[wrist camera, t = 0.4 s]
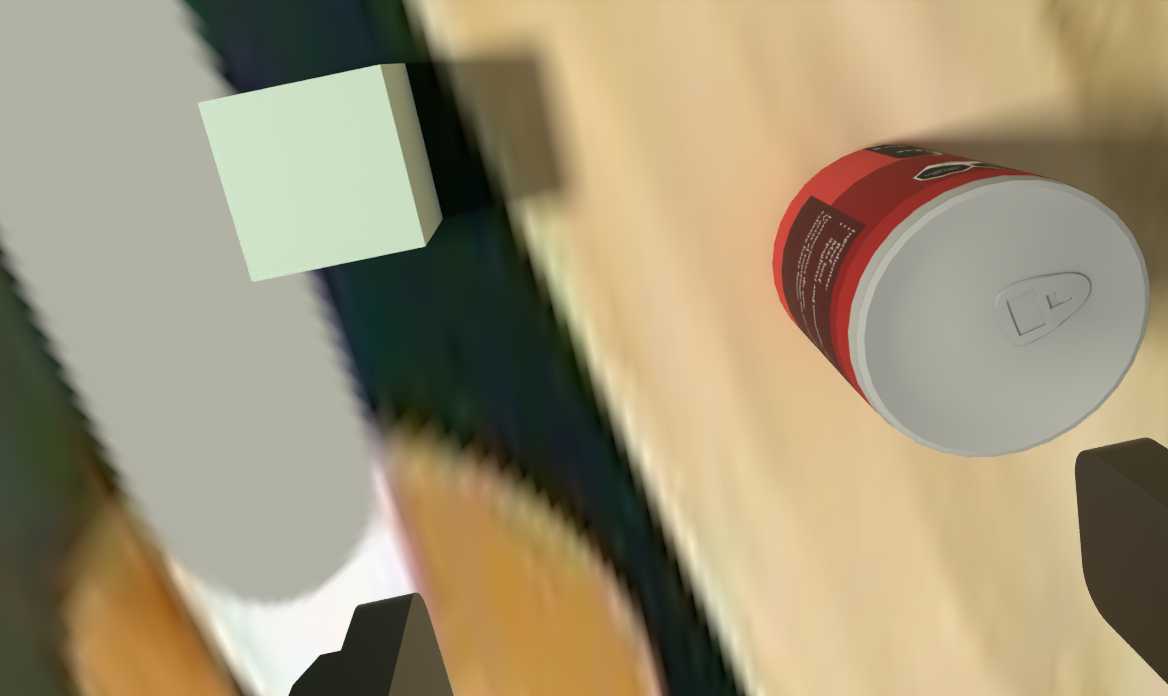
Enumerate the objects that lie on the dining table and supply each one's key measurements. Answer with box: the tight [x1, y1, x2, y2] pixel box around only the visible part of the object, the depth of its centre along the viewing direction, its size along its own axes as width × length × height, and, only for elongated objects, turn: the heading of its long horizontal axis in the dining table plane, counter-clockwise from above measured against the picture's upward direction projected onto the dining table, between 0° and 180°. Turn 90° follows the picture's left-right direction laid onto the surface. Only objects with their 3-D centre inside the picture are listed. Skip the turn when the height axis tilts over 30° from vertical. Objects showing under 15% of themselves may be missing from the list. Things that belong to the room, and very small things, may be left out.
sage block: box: [198, 63, 443, 282], centre depth 33 cm, size 6×6×6 cm
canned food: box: [772, 145, 1150, 457], centre depth 32 cm, size 8×8×11 cm
